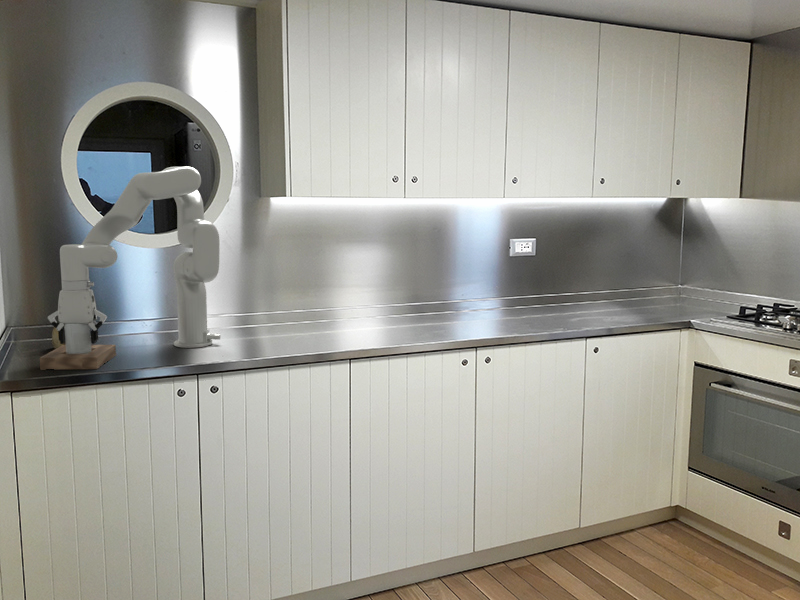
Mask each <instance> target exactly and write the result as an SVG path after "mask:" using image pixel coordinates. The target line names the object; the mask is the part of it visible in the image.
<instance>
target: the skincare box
mask: <svg viewBox="0 0 800 600" xmlns="http://www.w3.org/2000/svg"><path fill="white" fill-rule="evenodd" d="M64 328H65V341H66V354H88V353H89V352H91V345H92V343H91V327H90V326H89V325H88V324H79V323H78V324H77V323H75V324H64Z"/></svg>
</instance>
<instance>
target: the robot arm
mask: <svg viewBox="0 0 800 600" xmlns="http://www.w3.org/2000/svg"><path fill="white" fill-rule="evenodd" d="M201 184H202V177H201V174H200V172H199V171H198V170H197V169H196V168H194V167H193V166H192V167H191V166H187V165H186V166H170V167H166V168H164V169H163V170H161V171H152V172H139V173H136V174H135V175H134V176H132V178H131V179H130V180H129V182H128V184H127V185H126V186H125V188H124V189H123V191H122V193H121V194H120V195H119V197H118V199H117V200H116V202H115V203H114V204H113V206H112V207H111V209H110V210H109V211H108V212H107V213H106V214H105V215H104V216H102V218H101V219H100V220H98V221H97V222H96V224H95V225H94V226H93V227H91V229H90V230H89V232H88V234H87V235H86V237H85V238H84V239H83V240H82V243H81V244H76V243H75V244H72V243H71V244H63V245H61V246H60V249H59V259H60V260H59V262H60V277H61V280H60V281H61V290H59V295H58V302H57V303H58V304H57V310H56V311H55V312H53V313H51V314H50V315H48V316H47V320H48V321H49V323H51V326H53V328H54V327H55V328H56V330H57V331H58V336H59V341H60V344H63V343H65V342H66V341H65V329H64V324H75V323H77V324H78V323H79V324H88V325H89V326H90V329H91V330H90V335H91V345H95V344H96V343H97V342H98V340H99V329H100V328H101V327H102V325H104V323H105V321H106V320H107V318H108V316H107V315H106V314H105V313H104V312H101V311H100V310H97V303H96V298H95V294H94V290H93V289H90V288H92V287H94V286H95V282H94V281H91V279H90V273H89V272H90V271H89V270H90V269H89V268H94V269H106V268H107V269H108V268H110V267H112V266H114V265H115V264H116V262H117V261H118V252H117V250H116V248H115V247H113V246H112V245H111V244H112V242H113V241H114V240H115V239H116V238H117V237H118V236H120V235H121V234H123V233H124V232H126V231H129V230H130V229H132V228H133V227H135V226H136V225H137V224H138V223H139V221H140V220H141V217H143V214H145V212H146V210H147V208H148V207H149V205H150V204H151V202H152V201H153V200H155V201H157V200H159V201H160V200H165V199H172V198H173V199H174V201H175V203H176V210H177V211H176V212H177V215H176V216H177V224H176V226H177V240H178V242H179V244H180V245H181V246H182V247H184V248H188V249H192V251H187V252H183V253H181V254H179V255H177V257H176V258H175V260H174V261H173V274H174V275H173V276H174V280H175V284H176V297H177V298H176V300H177V301H176V302H177V328H178V330H177V331H178V339H176V340H175V341H174V342H173V345H174V346H175V347H177V348H184V349H191V348H193V349H194V348H195V349H196V348H205V347H208V346H211V345H213V340H214V341H215V340H217V341H218V340H221V334H220V333H216V332H215V333H211V332H210V329H208V306H207V305H208V304H207V288H206V284H205V283H210V282H212V281H214V280H215V279H216V278H217V277H218V274H219V270H220V247H221V246H220V234H219V231H218V229H217V227H216V226H215V224H214V223H213V222H211V221H208V220H205V213H204V211H205V209H204V201H203V198H202V195H201V193H200V192H199V188H200V186H201ZM56 317H57V318H58V319H57V320H58V321H57V320H56ZM98 318H99V321H98V322H97V321H96V320H98ZM59 322H60V324H59Z"/></svg>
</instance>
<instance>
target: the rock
mask: <svg viewBox="0 0 800 600" xmlns="http://www.w3.org/2000/svg"><path fill="white" fill-rule="evenodd" d="M58 323H59V324H60V322H59V321H58ZM64 329H65V328H64ZM51 338H52V339H51V340H52V341H51V343H52V346H53V348H54V349H57V348H59V347H61V346H62V345H66V342H65V343H63V344H60V341H59V336H58V331H57V330H56V328H55V327H54V326H53V329H52V333H51Z"/></svg>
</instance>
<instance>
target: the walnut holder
mask: <svg viewBox="0 0 800 600" xmlns="http://www.w3.org/2000/svg"><path fill="white" fill-rule="evenodd" d="M114 356H115V357H117V351H116V344H91V352H89V353H88V354H66V345H62V346H61V347H59V348H57V349H56V348H54V349H53V350H52V351H50V352H48V353H46V354H44V355H42V356H41V357H39V367H40V368H39V369H40V371H41V370H42V371H43V370H44V371H45V370H46V369H54V370H98V369H99V368H101V367H102V366H104V365H105V364H106V363H108V362H109V361H111V360H112V359H113V358H114ZM107 361H108V362H107ZM104 363H105V364H104ZM103 364H104V365H103ZM100 366H101V367H100Z"/></svg>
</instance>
